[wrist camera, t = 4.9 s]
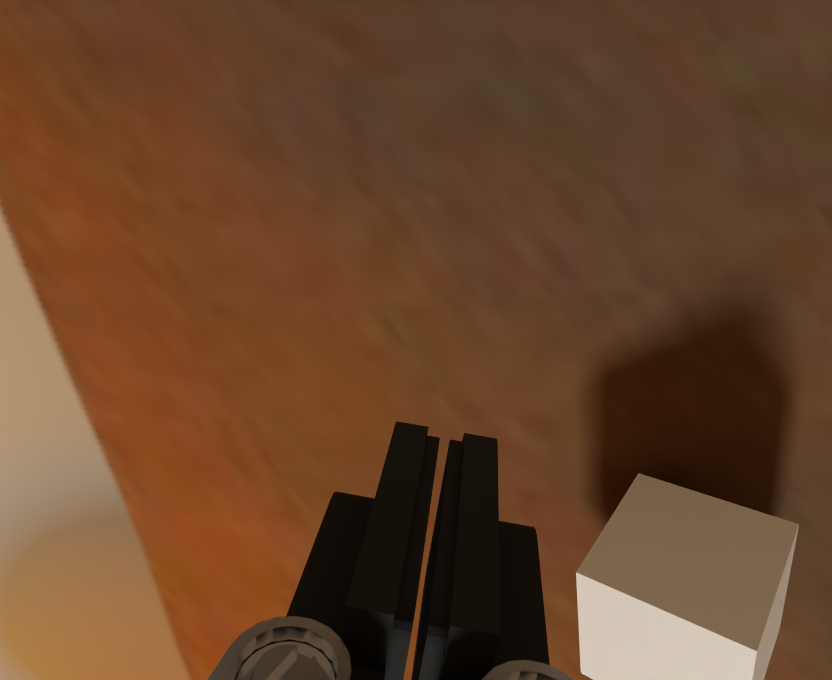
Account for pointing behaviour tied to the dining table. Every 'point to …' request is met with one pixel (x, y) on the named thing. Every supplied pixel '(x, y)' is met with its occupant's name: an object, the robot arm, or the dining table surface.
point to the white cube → (682, 588)
